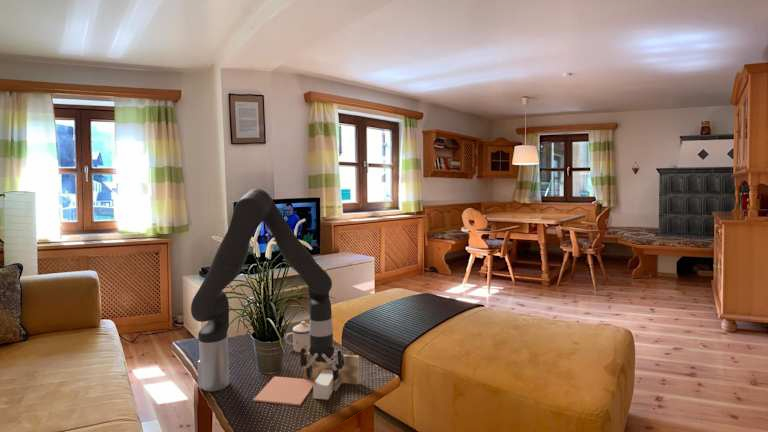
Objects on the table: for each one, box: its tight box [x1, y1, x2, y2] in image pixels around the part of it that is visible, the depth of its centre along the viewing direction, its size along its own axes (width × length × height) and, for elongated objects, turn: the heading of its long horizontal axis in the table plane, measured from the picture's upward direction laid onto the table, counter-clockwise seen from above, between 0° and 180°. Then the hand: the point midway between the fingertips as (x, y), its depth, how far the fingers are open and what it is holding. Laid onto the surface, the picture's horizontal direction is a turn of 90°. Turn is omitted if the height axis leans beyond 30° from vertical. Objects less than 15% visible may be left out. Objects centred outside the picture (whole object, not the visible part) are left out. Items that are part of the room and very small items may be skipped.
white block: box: [312, 369, 334, 400], centre depth 149 cm, size 5×11×5 cm, turn 171°
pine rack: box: [303, 352, 360, 393], centre depth 152 cm, size 20×7×10 cm, turn 80°
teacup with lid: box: [284, 320, 310, 354], centre depth 182 cm, size 12×9×12 cm
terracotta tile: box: [252, 375, 315, 407], centre depth 149 cm, size 16×16×1 cm
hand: (322, 378), depth 145 cm, fingers open, 8 cm apart
